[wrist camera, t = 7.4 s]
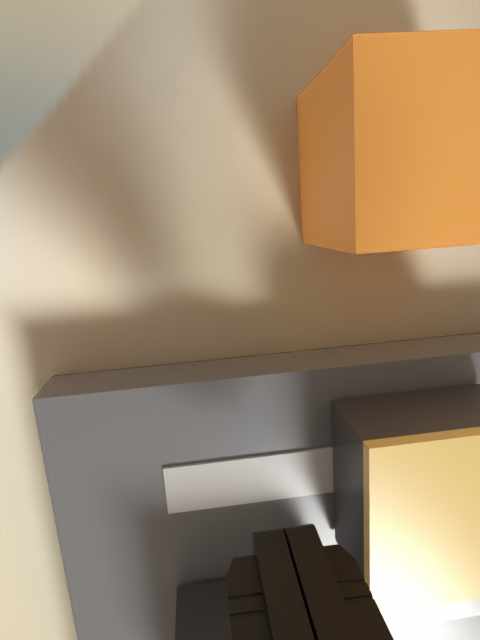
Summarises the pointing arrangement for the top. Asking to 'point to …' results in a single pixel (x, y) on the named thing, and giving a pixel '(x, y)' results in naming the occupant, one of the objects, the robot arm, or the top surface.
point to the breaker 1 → (202, 612)
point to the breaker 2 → (410, 493)
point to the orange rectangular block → (393, 144)
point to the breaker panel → (214, 471)
